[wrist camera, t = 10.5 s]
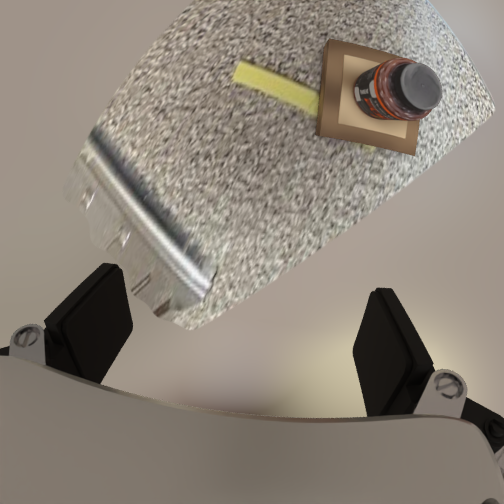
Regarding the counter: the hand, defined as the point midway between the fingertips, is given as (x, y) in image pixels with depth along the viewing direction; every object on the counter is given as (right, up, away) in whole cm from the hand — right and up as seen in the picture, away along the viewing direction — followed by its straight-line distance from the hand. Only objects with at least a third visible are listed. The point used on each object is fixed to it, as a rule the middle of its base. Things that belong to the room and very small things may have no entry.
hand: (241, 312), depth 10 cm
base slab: (+15, +21, +20) cm, 33 cm away
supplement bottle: (+14, +20, +16) cm, 29 cm away
